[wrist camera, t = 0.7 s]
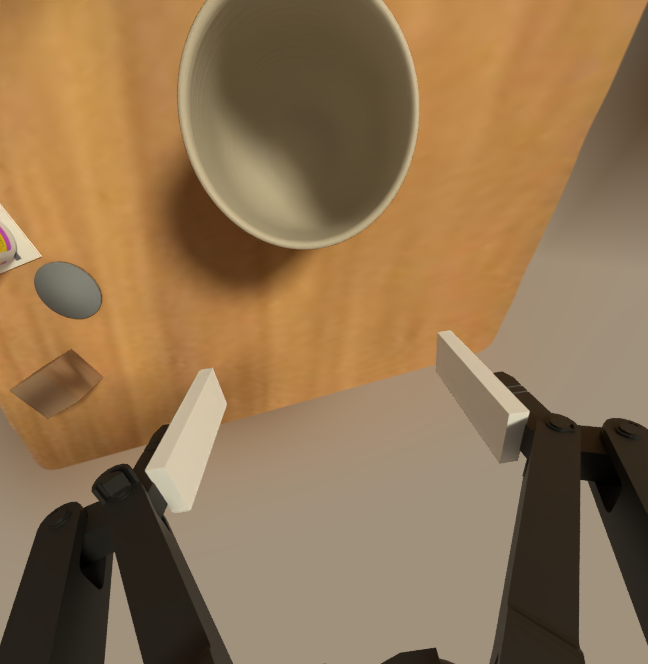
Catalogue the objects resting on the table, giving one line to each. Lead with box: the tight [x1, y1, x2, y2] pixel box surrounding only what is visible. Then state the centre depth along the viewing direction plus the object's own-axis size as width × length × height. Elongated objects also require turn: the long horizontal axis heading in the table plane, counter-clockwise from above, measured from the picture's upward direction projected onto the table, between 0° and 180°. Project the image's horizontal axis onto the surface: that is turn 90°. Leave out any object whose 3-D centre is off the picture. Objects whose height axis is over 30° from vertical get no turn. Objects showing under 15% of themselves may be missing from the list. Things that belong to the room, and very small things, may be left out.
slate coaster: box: [34, 262, 102, 319], centre depth 40 cm, size 8×8×1 cm
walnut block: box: [9, 349, 103, 419], centre depth 43 cm, size 6×6×6 cm
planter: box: [177, 0, 420, 250], centre depth 28 cm, size 17×17×15 cm
